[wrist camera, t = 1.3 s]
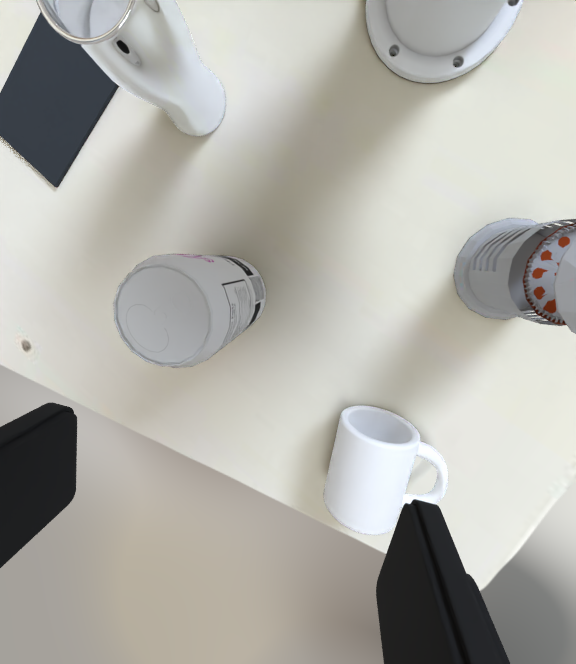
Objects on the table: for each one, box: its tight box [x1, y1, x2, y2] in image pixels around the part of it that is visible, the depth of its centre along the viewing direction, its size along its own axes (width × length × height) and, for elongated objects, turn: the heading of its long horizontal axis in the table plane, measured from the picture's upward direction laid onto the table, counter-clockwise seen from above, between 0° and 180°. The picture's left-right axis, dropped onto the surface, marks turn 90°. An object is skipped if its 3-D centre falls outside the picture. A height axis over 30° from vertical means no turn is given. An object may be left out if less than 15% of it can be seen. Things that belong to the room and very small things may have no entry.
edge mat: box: [0, 12, 118, 187], centre depth 33 cm, size 20×10×1 cm, turn 137°
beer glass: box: [36, 0, 226, 137], centre depth 25 cm, size 7×7×15 cm
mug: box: [324, 406, 448, 535], centre depth 33 cm, size 12×10×8 cm
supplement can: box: [114, 254, 266, 368], centre depth 28 cm, size 8×8×15 cm
